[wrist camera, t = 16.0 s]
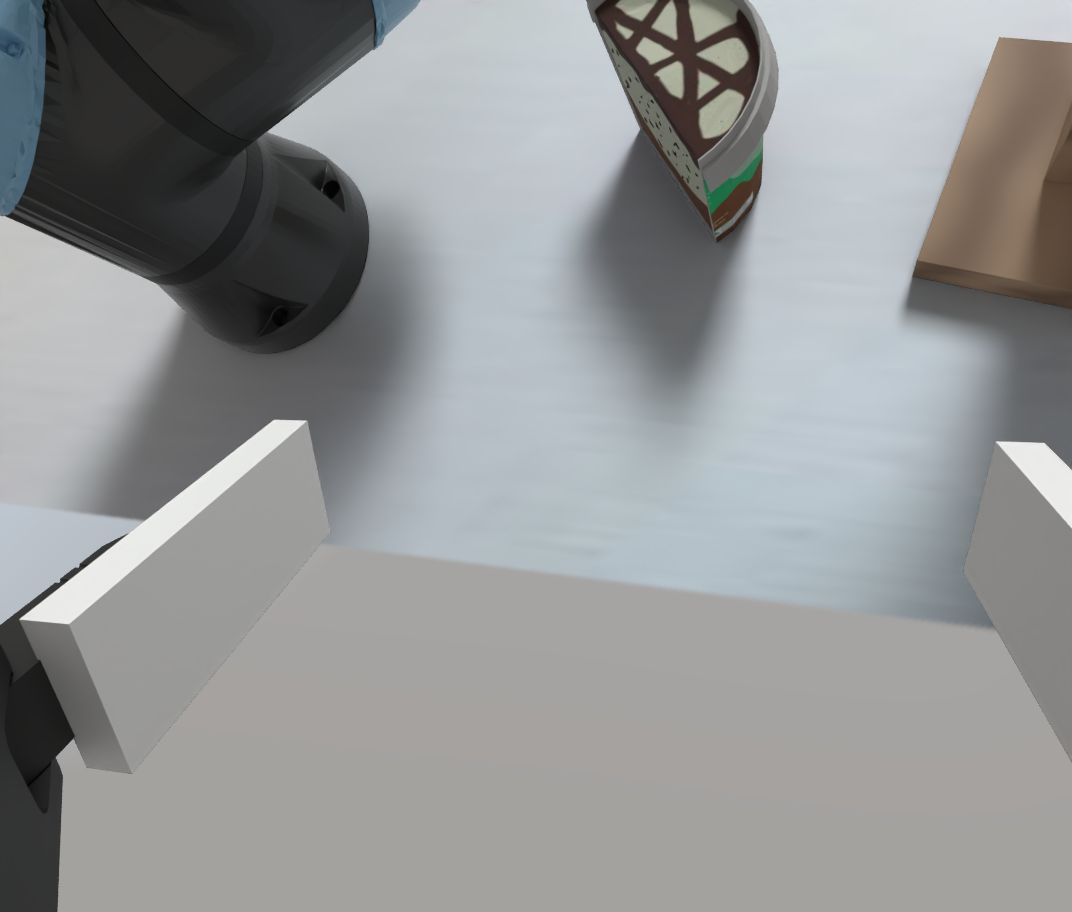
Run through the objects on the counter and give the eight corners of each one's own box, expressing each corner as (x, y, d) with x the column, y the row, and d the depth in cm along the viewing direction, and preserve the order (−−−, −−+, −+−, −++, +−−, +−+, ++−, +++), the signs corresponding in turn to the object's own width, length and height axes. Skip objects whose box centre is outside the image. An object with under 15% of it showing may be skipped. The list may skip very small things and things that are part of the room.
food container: (829, 199, 40) (833, 82, 31) (729, 262, 41) (704, 169, 32) (716, 49, 44) (689, -94, 35) (628, 112, 45) (580, -9, 36)
